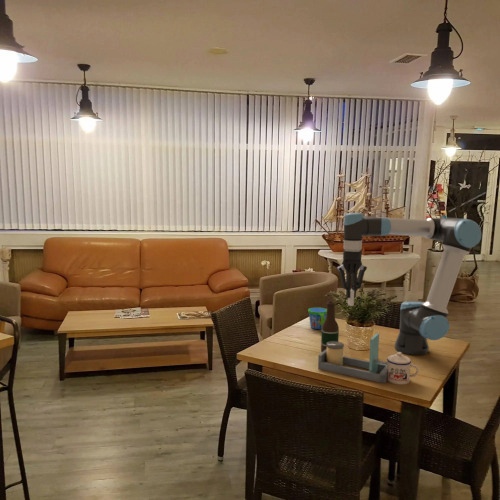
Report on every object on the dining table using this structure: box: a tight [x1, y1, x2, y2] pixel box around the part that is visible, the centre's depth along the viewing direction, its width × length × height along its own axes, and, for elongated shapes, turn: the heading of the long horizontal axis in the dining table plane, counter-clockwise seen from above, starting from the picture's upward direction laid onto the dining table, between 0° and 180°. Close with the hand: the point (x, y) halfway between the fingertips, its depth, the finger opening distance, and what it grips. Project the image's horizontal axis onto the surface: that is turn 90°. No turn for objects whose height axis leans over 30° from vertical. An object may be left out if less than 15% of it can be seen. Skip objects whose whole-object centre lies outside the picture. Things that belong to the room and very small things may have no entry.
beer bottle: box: [320, 301, 340, 353], centre depth 212 cm, size 8×8×24 cm
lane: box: [317, 349, 388, 384], centre depth 192 cm, size 28×12×6 cm, turn 59°
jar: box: [326, 341, 345, 366], centre depth 197 cm, size 7×7×10 cm
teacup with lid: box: [386, 351, 419, 385], centre depth 183 cm, size 12×9×12 cm
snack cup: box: [307, 307, 327, 330], centre depth 252 cm, size 16×10×10 cm
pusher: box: [368, 332, 387, 373], centre depth 186 cm, size 7×9×16 cm
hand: (350, 305), depth 196 cm, fingers closed
